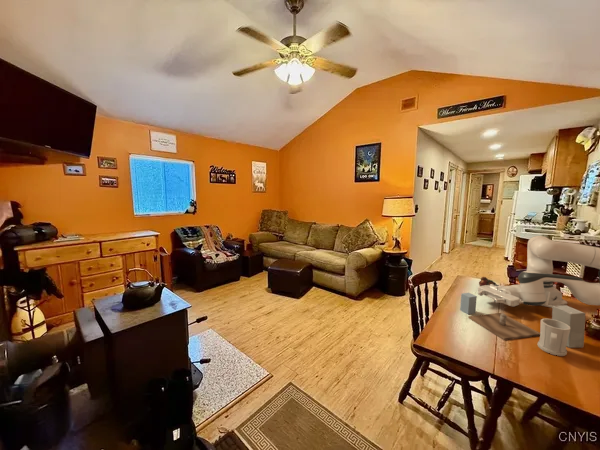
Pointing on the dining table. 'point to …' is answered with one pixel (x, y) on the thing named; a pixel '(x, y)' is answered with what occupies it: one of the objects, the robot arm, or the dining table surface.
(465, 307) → the tall grey rectangular prism
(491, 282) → the decorative turtle
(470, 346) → the dining table surface
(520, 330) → the walnut base
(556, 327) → the cup
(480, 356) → the dining table surface
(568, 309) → the skincare box
